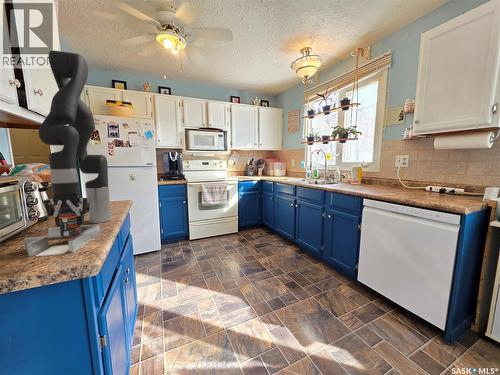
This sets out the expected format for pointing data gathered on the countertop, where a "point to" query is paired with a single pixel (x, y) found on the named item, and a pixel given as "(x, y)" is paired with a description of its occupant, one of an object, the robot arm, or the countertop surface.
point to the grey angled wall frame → (41, 243)
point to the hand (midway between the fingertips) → (70, 225)
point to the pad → (55, 250)
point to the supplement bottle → (68, 223)
